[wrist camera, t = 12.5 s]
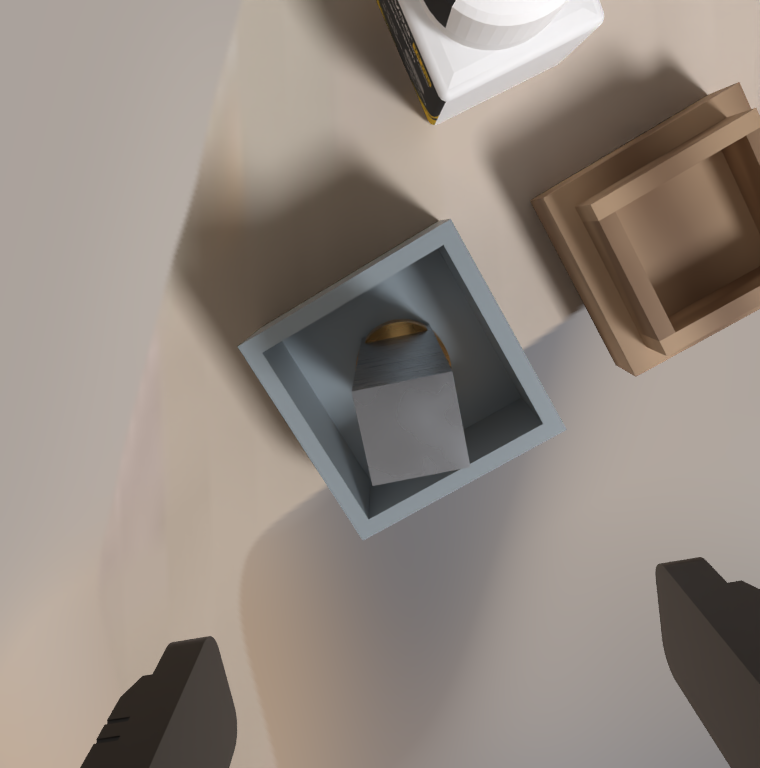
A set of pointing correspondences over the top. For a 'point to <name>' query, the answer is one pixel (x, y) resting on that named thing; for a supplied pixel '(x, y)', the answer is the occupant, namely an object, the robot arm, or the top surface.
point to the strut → (407, 403)
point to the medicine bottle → (482, 45)
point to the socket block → (665, 231)
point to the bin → (338, 363)
